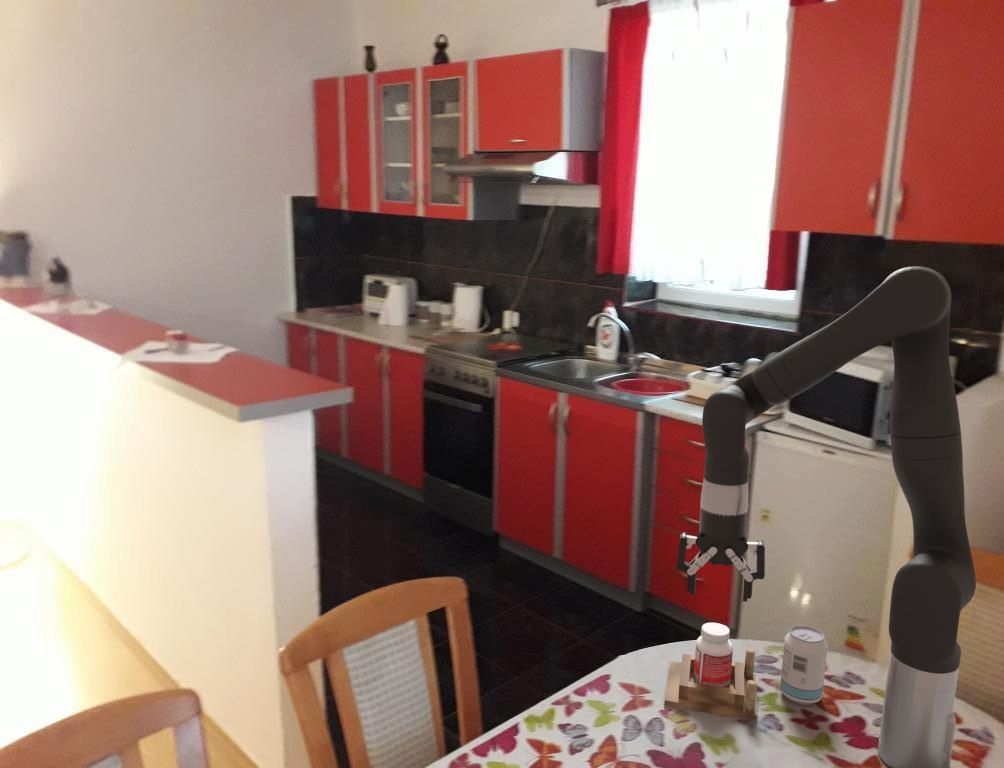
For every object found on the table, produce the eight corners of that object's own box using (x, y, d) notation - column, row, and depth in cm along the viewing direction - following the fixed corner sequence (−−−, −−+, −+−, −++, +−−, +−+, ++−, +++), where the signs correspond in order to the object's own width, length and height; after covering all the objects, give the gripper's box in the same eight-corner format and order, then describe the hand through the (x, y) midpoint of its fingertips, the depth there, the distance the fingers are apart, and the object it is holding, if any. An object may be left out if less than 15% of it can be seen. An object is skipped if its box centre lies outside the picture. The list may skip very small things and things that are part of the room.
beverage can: (830, 702, 141) (837, 638, 139) (801, 712, 138) (807, 647, 136) (799, 682, 147) (806, 620, 145) (770, 691, 144) (776, 628, 142)
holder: (754, 679, 148) (757, 648, 147) (756, 721, 136) (759, 687, 134) (669, 666, 152) (671, 636, 151) (664, 705, 139) (666, 673, 138)
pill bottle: (737, 690, 143) (742, 631, 140) (712, 701, 139) (717, 641, 137) (710, 673, 148) (714, 616, 145) (685, 683, 144) (689, 625, 142)
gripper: (767, 502, 139) (761, 592, 142) (681, 494, 142) (676, 582, 145) (770, 517, 131) (763, 612, 135) (678, 508, 135) (674, 601, 138)
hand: (718, 596), depth 140 cm, fingers open, 8 cm apart
